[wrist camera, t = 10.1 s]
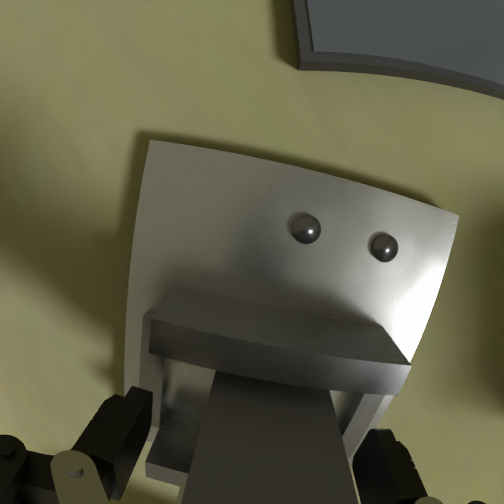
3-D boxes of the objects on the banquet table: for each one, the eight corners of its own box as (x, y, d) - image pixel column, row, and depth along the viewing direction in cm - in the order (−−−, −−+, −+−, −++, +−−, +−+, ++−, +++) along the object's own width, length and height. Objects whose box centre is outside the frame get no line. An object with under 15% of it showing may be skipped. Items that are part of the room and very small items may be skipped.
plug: (218, 343, 12) (166, 526, 4) (321, 363, 12) (366, 541, 4) (204, 416, 13) (164, 570, 5) (294, 432, 13) (305, 585, 5)
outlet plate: (160, 143, 11) (112, 127, 7) (444, 212, 12) (506, 226, 7) (132, 419, 15) (105, 472, 10) (344, 457, 15) (357, 513, 10)
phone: (283, -49, 9) (284, -63, 8) (502, 1, 8) (512, -5, 7) (298, 70, 11) (301, 60, 10) (532, 109, 10) (544, 106, 9)
